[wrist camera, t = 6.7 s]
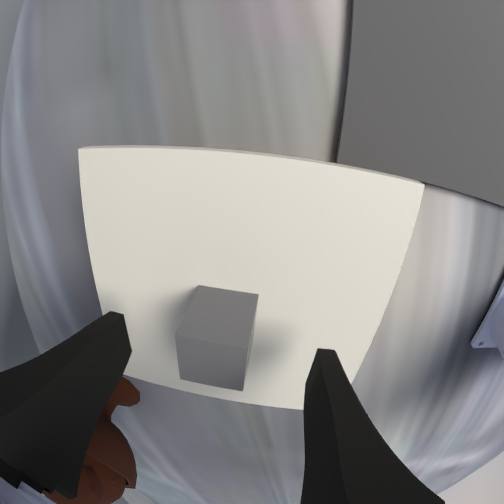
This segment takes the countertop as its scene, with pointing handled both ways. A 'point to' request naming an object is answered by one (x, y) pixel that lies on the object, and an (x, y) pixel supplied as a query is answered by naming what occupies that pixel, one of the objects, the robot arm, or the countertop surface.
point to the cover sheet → (242, 263)
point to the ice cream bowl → (106, 456)
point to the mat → (427, 93)
